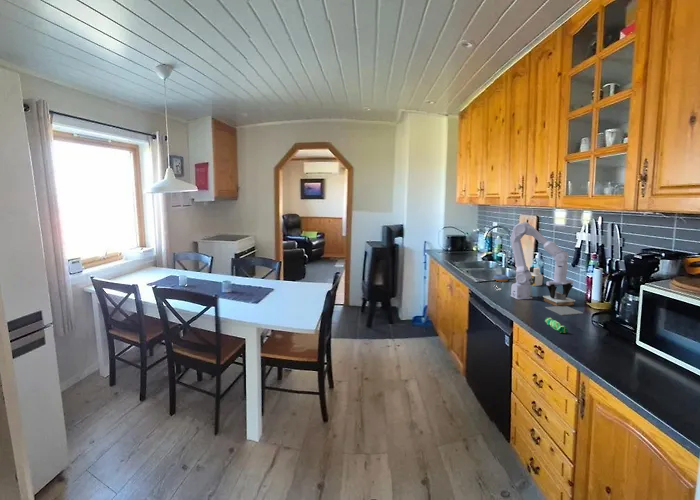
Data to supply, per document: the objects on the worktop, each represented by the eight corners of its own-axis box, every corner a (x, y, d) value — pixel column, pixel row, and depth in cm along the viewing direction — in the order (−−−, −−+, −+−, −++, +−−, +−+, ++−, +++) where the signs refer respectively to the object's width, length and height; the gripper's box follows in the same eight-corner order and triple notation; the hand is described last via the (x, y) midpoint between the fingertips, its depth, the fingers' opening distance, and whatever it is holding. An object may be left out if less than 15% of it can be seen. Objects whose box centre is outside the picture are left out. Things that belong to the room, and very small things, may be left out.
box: (556, 306, 184) (556, 302, 184) (543, 301, 194) (544, 297, 194) (573, 305, 186) (573, 301, 185) (559, 300, 195) (560, 296, 195)
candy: (569, 331, 149) (564, 324, 149) (562, 336, 150) (557, 328, 149) (553, 322, 161) (549, 315, 161) (547, 325, 161) (542, 319, 161)
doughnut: (499, 277, 249) (499, 271, 248) (511, 281, 241) (511, 275, 240) (489, 281, 245) (490, 275, 244) (501, 284, 236) (502, 278, 235)
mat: (561, 315, 171) (561, 314, 171) (545, 307, 183) (545, 307, 183) (583, 313, 173) (583, 313, 173) (565, 306, 185) (565, 305, 184)
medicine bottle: (525, 284, 232) (526, 266, 230) (533, 282, 234) (534, 265, 232) (534, 286, 225) (535, 268, 223) (542, 285, 228) (543, 267, 226)
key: (495, 290, 218) (502, 291, 217) (495, 289, 218) (502, 289, 217) (492, 286, 230) (499, 286, 229) (492, 284, 230) (499, 285, 229)
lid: (556, 304, 184) (557, 296, 183) (542, 298, 194) (543, 291, 194) (575, 302, 185) (575, 295, 184) (560, 297, 196) (560, 289, 195)
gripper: (553, 275, 182) (551, 300, 185) (578, 274, 184) (576, 298, 186) (544, 272, 189) (542, 296, 191) (568, 271, 191) (566, 295, 193)
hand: (558, 297), depth 189 cm, fingers open, 7 cm apart
